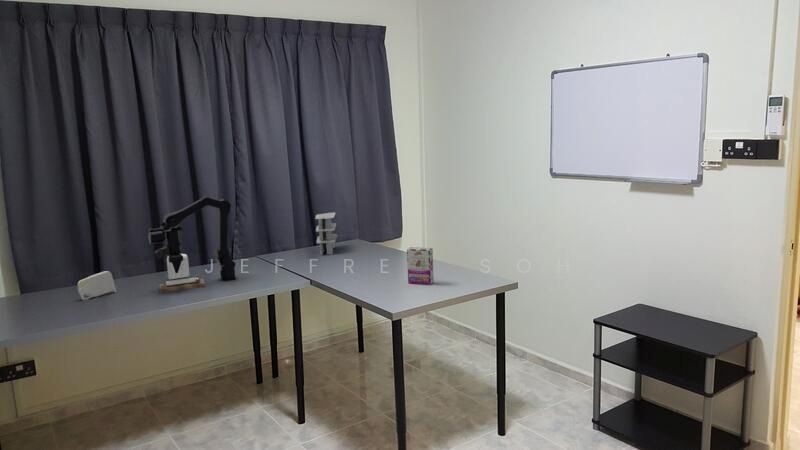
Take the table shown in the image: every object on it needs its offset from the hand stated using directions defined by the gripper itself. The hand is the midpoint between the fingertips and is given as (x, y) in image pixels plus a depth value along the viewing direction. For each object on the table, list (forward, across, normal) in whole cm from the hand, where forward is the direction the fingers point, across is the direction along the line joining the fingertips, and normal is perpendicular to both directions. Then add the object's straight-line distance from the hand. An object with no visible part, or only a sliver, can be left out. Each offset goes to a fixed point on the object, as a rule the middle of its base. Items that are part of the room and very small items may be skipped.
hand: (176, 272), depth 277 cm
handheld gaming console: (+7, -4, -34) cm, 35 cm away
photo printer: (+7, -20, +2) cm, 21 cm away
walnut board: (+7, 0, +2) cm, 7 cm away
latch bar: (+5, 0, +2) cm, 6 cm away
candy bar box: (+8, +55, +102) cm, 116 cm away
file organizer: (+8, -38, +87) cm, 95 cm away
